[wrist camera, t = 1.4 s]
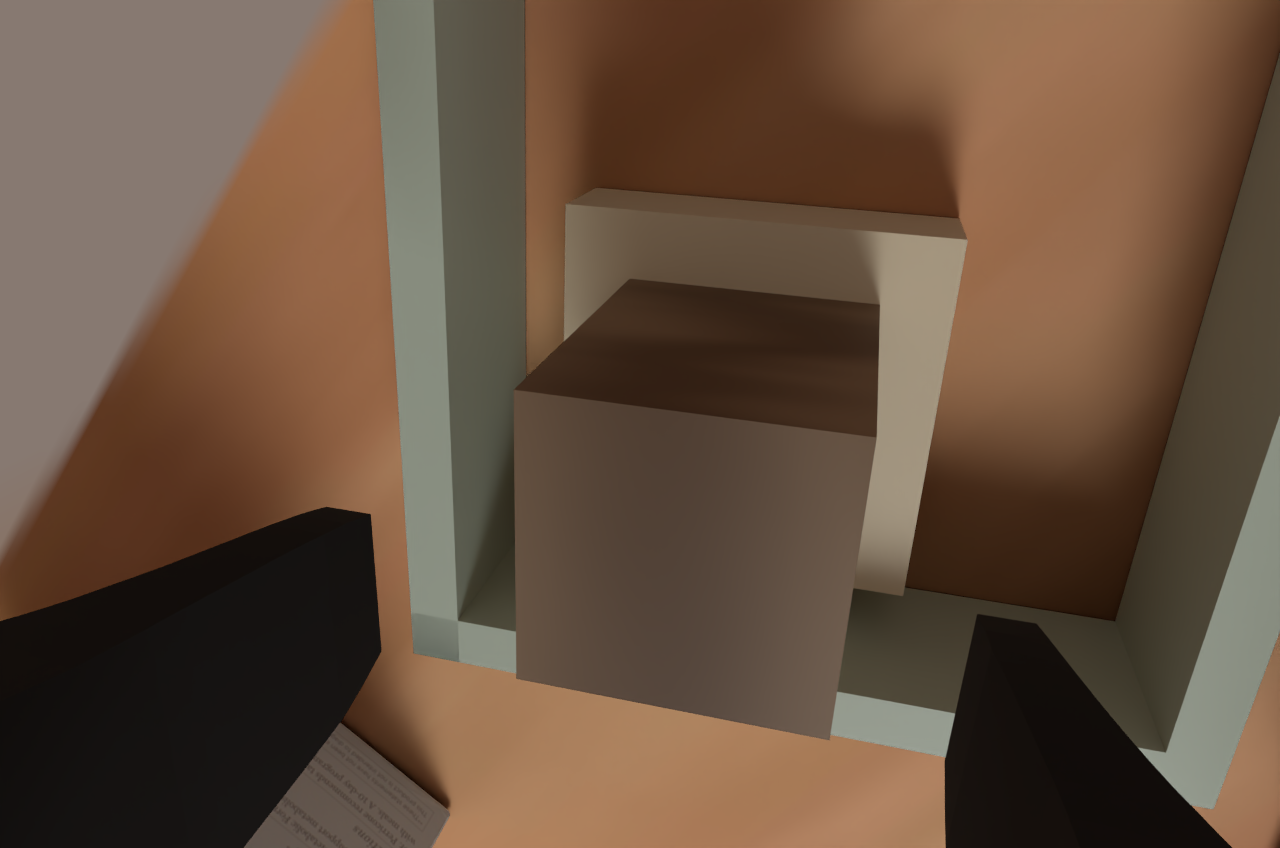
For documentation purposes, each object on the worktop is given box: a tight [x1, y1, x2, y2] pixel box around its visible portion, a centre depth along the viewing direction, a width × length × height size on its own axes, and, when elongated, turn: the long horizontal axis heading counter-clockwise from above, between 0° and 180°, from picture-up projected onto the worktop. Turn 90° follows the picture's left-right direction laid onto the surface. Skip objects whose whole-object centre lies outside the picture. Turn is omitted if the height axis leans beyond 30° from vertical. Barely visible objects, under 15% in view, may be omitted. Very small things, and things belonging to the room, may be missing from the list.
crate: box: [373, 0, 1280, 809], centre depth 17 cm, size 15×13×4 cm
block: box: [514, 279, 880, 740], centre depth 15 cm, size 4×4×6 cm
